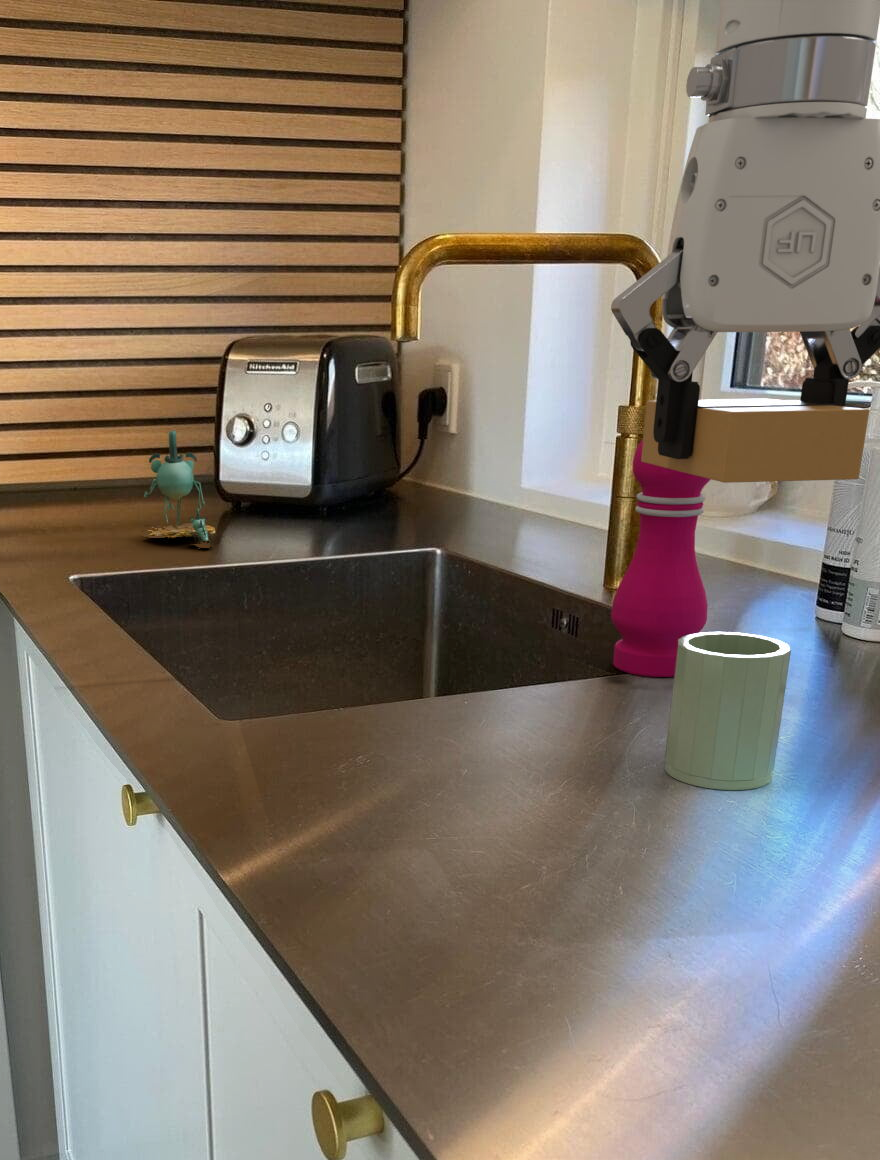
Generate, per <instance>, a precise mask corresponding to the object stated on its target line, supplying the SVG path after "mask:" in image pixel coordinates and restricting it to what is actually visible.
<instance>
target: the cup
mask: <svg viewBox="0 0 880 1160" xmlns="http://www.w3.org/2000/svg"><path fill="white" fill-rule="evenodd" d="M791 653H792V650H791V647H790V645H789V644H788V643H785V642H783V641H782V640H779V639H777V638H772V637H768V636H764V635H760V634H751V633H744V632H731V631H728V632H727V631H708V632H699V633H697V634H691V635H686V636H684V637H682V638H680V639H678V644H677V653H676V662H675V671H674V677H673V680H672V690H671V698H670V709H669V717H668V718H669V719H668V727H667V738H666V745H665V754H664V755H665V756H664V757H665V759H664V760H665V761H664V771H665V772H666V773H667V775H668V776H670V777H671V778H673V779H675V780H677V781H678V782H679V781H680V782H682V783H685V784H688V785H691V786H696V787H700V788H704V789H713V790H720V791H721V790H722V791H743V790H753V789H757V788H761V787H764V786H766V785H767V784H769V783H770V782H771V781H772V779H773V773H774V770H775V764H776V757H777V750H778V743H779V737H780V730H781V723H782V715H783V708H784V702H785V696H786V695H785V694H786V688H787V682H788V673H789V667H790V660H791Z"/></svg>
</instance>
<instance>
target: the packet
mask: <svg viewBox="0 0 880 1160" xmlns="http://www.w3.org/2000/svg"><path fill="white" fill-rule="evenodd" d="M645 404H646V405H645V414H644V415H645V416H644V426H643V437H642V438H643V439H642V440H643V447H642V457H641V462H645V463H649V464H652V465H656V466H660V467H664V468H668V469H672V470H676V471H680V472H684V473H688V474H692V475H696V476H700V477H704V478H708V479H711V481H715V482H716V481H717V482H720V483H725V484H727V483H765V482H766V483H767V482H769V483H770V482H804V481H805V482H806V481H807V482H811V481H845V480H846V481H847V480H848V481H849V480H858V479H859V478H860V474H861V468H862V460H863V454H864V449H865V448H864V447H865V441H866V435H867V428H868V423H869V422H868V421H869V416H870V409H869V408H861V407H851V406H845V407H843V406H834V404H829V403H819V402H809V401H800V399H799V400H797V399H785V400H784V399H777V398H776V399H775V398H762V397H761V398H715V399H713V398H711V399H707V398H706V399H705V398H704V399H699V403H698V406H697V417H696V427H695V436H694V445H693V453H692V455H691V456H690V457H689V458H688V459H675V458H671V457H666V456H662V455H659V453H658V442H656V441H655V440H654V435H653V430H654V419H655V409H656V399H655V400H653V399H652V400H651V399H650V400H647V401H646V403H645Z"/></svg>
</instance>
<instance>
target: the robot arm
mask: <svg viewBox="0 0 880 1160" xmlns="http://www.w3.org/2000/svg"><path fill="white" fill-rule="evenodd" d="M719 4H720V5H719V6H720V7H719V15H718V25H717V26H718V27H717V36H716V45H715V56H714V57H711V59H710V63H708V64H706V65H705V66H693V67H692V68H691V69H690V71H689V73H688V75H687V80H686V89H685V90H686V95H687V97H688V98H700V100H701V101H705V112H704V113H705V116H706V117H707V116H708V121H707V122H706V123H704V124H702V125H700V126H698V127H697V128H696V130H695V132H694V136H693V139H692V142H691V145H690V149H689V152H688V156H687V159H686V161H685V162H686V163H685V167H684V171H683V174H682V178H681V182H680V185H679V191H678V194H677V199H676V204H675V209H674V212H673V213H674V214H673V219H672V223H671V230H670V236H669V242H668V247H667V255H666V257H665V258H663V259H662V260H661V261H660V262H659V263H657V264H656V265H655V266H653V267H652V268H651V269H650V270H649V271H647V272H646V273H645V274H644V275H642V276H641V277H640V278H638V279H637V280H635V282H634V283H632V284H631V285H630V286H628V288H626V289H625V290H624V291H622V292H621V293H620V294H619V295H618V296H616V297H615V298H614V299H613V300H612V302H611V305H610V309H611V313H612V315H613V316H614V318H615V319H616V321H617V323H618V324H619V326H620V328H621V329H622V331H623V333H624V335H625V336H626V337H627V338H628V339H629V343H630V346H631V348H632V350H633V351H634V352H635V353H636V355H638V357H639V359H641V360H642V362H643V363H644V364H645V365H646V367H647V368H648V369H649V371H650V375H651V377H652V378H653V379H654V380H657V388H656V389H657V390H656V399H655V400H656V409H655V419H654V430H653V435H654V440H655V441H656V442H658V453H659V455H662V456H666V457H671V458H675V459H688V458H689V457H690V456H691V455H692V453H693V445H694V436H695V427H696V417H697V406H698V403H699V400H700V392H701V387H700V384H699V382H698V381H693V373H694V370H695V369H696V368H697V366H698V364H699V362H700V361H701V360H702V357H703V356H704V354H705V353H706V351H707V350H708V348H709V347H710V345H711V343H712V342H713V340H714V339H715V337H716V335H717V334H718V333H792V332H793V333H797V332H799V334H800V337H801V339H802V342H803V344H804V347H805V350H806V353H807V354H808V358H809V360H810V363H811V365H812V367H813V375H812V377H805V379H804V381H802V385H801V390H800V391H801V392H800V399H799V401H809V402H819V403H829V404H834V406H843V407H846V403H847V396H848V389H849V383H850V380H852V379H855V378H856V377H858V376H859V375H860V373H861V371H862V369H863V365H864V364H865V363H866V362H867V361H868V360H869V359H870V358H871V357H872V356H874V355H875V354H876V353H877V352H878V351H879V350H880V118H867V111H868V102H869V96H870V90H871V81H872V75H873V69H874V63H875V61H874V60H875V55H876V47H877V39H878V32H879V25H880V0H720V3H719ZM661 297H662V298H661ZM660 298H661V300H662V301H661V303H662V304H661V309H662V310H661V312H662V313H661V314H662V317H663V320H664V322H665V323H666V324H667V325H668V326H669V327H671V328H672V330H671V332H670V333H669V335H668V337H666V335H665V334H664V333H663V331H661V329H660V328H657V326H656V324H655V322H654V319H653V317H652V315H651V308H652V305H653V304H654V303H655V302H656V301H658V300H659V299H660ZM851 329H852V330H851Z"/></svg>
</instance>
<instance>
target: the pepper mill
mask: <svg viewBox="0 0 880 1160" xmlns="http://www.w3.org/2000/svg"><path fill="white" fill-rule="evenodd" d="M642 447H643V439H641V441H640V442H639V444H638V445H637V448H636V449H635V452H634V456H633V461H632V472H633V477H634V478H635V480H636V481H637V482H638V484H639V485H640V487H641V490H642V491H641V492H639V493H637V494H636V499H637V503H636V504H637V505H636V506H635V512H636V513H638V514H639V515H640V516H639V532H638V538H637V543H636V547H635V551H634V553H633V556H632V559H631V561H630V563H629V565H628V568H627V569H626V571H625V573H624V575H623V577H622V579H621V581H620V583H619V585H618V586H617V589H616V592H615V595H614V597H613V600H612V606H611V612H610V619H611V622H612V624H613V625H614V627H615V629H616V630H617V631H618V632H619V634H620V635H621V636H622V638H621V639H619V640H618V641H616V642H615V644H614V649H613V659H612V660H613V661H612V665H613V667H614V668H616V669H617V670H619V671H621V672H624V673H627V674H630V675H635V676H641V677H650V678H674V671H675V662H676V653H677V644H678V639H680V638H682V637H684V636H686V635H691V634H697V633H701V631H702V630H703V628H704V627H705V625H706V624H707V620H708V600H707V599H708V598H707V593H706V589H705V586H704V582H703V579H702V576H701V572H700V570H699V569H700V568H699V567H698V562H697V556H696V530H697V525H698V517H699V516H701V515H703V514H704V512H705V508H704V507H703V506H704V502H705V501H706V496H705V495H704V494H703V493H702V491H703V490H704V488H705V486H706V485H707V484H708V483H709V482H710V481H712V479H708V478H704V477H700V476H696V475H692V474H688V473H684V472H680V471H676V470H672V469H668V468H664V467H660V466H656V465H652V464H649V463H645V462H641V457H642Z"/></svg>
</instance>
